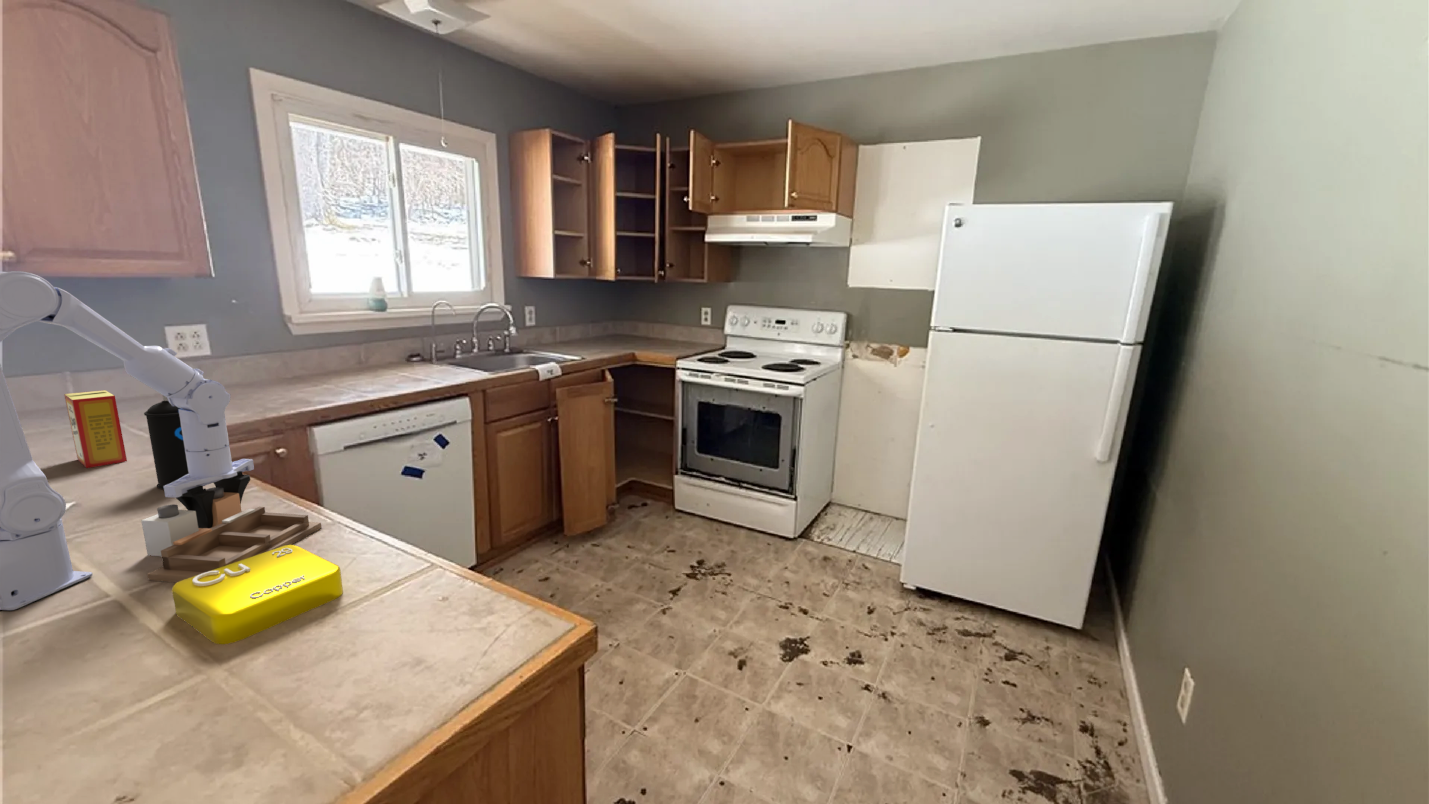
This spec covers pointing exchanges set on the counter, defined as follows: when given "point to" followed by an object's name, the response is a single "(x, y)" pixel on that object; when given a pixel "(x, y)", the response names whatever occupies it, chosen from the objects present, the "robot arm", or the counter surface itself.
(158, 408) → the aerosol can
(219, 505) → the orange plug
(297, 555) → the element tile
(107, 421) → the baking soda box
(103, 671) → the counter surface
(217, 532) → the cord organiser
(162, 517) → the grey plug
